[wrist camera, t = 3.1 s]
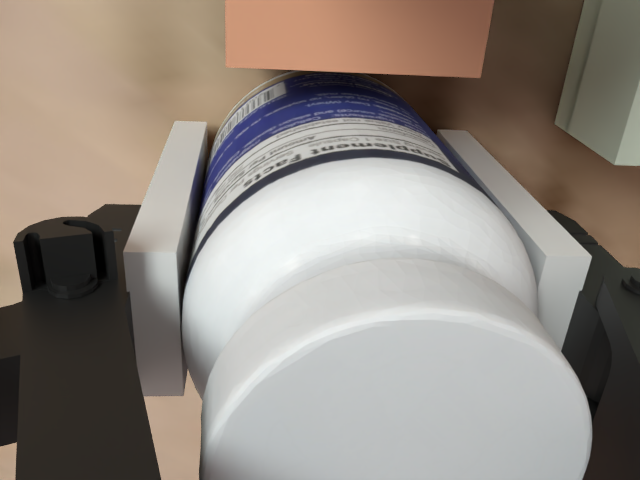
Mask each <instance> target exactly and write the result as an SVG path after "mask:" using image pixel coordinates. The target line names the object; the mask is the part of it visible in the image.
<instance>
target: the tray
mask: <svg viewBox="0 0 640 480" xmlns="http://www.w3.org/2000/svg"><path fill="white" fill-rule="evenodd" d="M554 124H555V125H557V126H558V127H560V128H561V129H563V130H564V131H565V132H567V133H568V134H570V135H571V136H573V137H574V138H576V139H577V140H579V141H580V142H581V143H583V144H584V145H586V146H587V147H589V148H590V149H592V150H593V151H595V152H596V153H597V154H599V155H600V156H602V157H603V158H605V159H606V160H608V161H609V162H611V163H612V164H613V165H629V166H640V0H584V4H583V8H582V13H581V17H580V21H579V25H578V29H577V33H576V37H575V41H574V45H573V50H572V54H571V58H570V62H569V66H568V70H567V74H566V78H565V82H564V87H563V91H562V95H561V99H560V103H559V107H558V111H557V115H556V119H555V123H554Z"/></svg>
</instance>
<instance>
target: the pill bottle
mask: <svg viewBox="0 0 640 480" xmlns="http://www.w3.org/2000/svg"><path fill="white" fill-rule="evenodd" d="M182 341H183V348H184V354H185V359H186V363H187V367H188V370H189V373H190V375H191V378H192V380H193V383H194V385H195V388H196V390H197V391H198V393H199V395H200V397H201V399H202V400H203V403H202V413H201V452H200V466H199V480H582V479H583V477H584V474H585V472H586V468H587V465H588V462H589V458H590V453H591V446H592V421H591V413H590V409H589V405H588V401H587V397H586V395H585V393H584V390H583V388H582V386H581V383H580V381H579V379H578V377H577V375H576V374H575V372H574V370H573V369H572V367H571V366H570V364H569V363H568V361H567V360H566V358H565V357H564V355H563V354H562V352H561V351H560V349H559V348H558V346H557V345H556V343H555V342H554V340H553V339H552V338H551V336H550V335H549V334H548V333H547V331H546V330H545V329H544V327H543V325H542V324H541V322H540V321H539V319H538V295H537V285H536V281H535V276H534V271H533V267H532V264H531V262H530V259H529V257H528V254H527V252H526V249H525V247H524V244H523V243H522V241H521V239H520V238H519V236H518V234H517V232H516V230H515V228H514V227H513V225H512V224H511V222H510V221H509V219H508V218H507V217H506V216H505V215H504V214H503V212H502V211H501V210H500V209H499V208H498V206H497V205H496V204H495V203H494V201H493V200H492V199H491V198H490V197H489V195H488V194H487V193H486V192H485V191H484V190H483V189H482V187H481V186H480V185H479V184H478V183H477V182H476V181H475V180H474V178H473V177H472V176H471V175H470V174H469V173H468V172H467V170H466V169H465V168H464V167H463V166H462V165H461V163H460V162H459V161H458V160H457V159H456V158H455V156H454V155H453V154H452V153H451V152H450V150H449V149H448V148H447V147H446V146H445V145H444V144H443V143H442V142H441V140H440V139H439V138H438V137H437V136H436V135H435V134H434V133H433V131H432V130H431V129H430V128H429V127H428V125H427V124H426V123H425V122H424V121H423V120H422V119H421V117H420V116H419V115H418V114H417V113H416V112H415V110H414V109H413V108H412V107H411V106H410V105H409V104H408V103H407V102H406V101H405V100H404V99H403V98H402V97H401V96H400V95H398V94H397V93H396V92H395V91H394V90H392V89H391V88H390V87H388V86H387V85H385V84H384V83H382V82H380V81H379V80H377V79H375V78H372V77H370V76H368V75H366V74H363V73H351V72H327V71H304V70H295V71H291V72H287V73H285V74H282V75H279V76H277V77H274V78H272V79H270V80H268V81H266V82H265V83H263V84H261V85H259V86H258V87H256V88H255V89H253V90H252V91H251V92H249V93H248V94H247V95H246V96H245V97H244V98H242V99H241V100H240V101H239V102H238V103H237V104H236V106H235V107H234V108H233V109H232V110H231V112H230V113H229V114H228V116H227V117H226V119H225V120H224V121H223V123H222V125H221V127H220V129H219V130H218V132H217V135H216V137H215V139H214V142H213V145H212V148H211V151H210V154H209V158H208V162H207V166H206V173H205V179H204V185H203V191H202V197H201V203H200V209H199V215H198V220H197V226H196V231H195V237H194V243H193V248H192V253H191V257H190V263H189V268H188V272H187V277H186V282H185V287H184V299H183V310H182Z"/></svg>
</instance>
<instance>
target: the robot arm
mask: <svg viewBox="0 0 640 480" xmlns="http://www.w3.org/2000/svg"><path fill="white" fill-rule="evenodd" d="M437 137H438V138H439V139H440V140H441V142H442V143H443V144H444V145H445V146H446V147H447V148H448V149H449V150H450V152H451V153H452V154H453V155H454V156H455V158H456V159H457V160H458V161H459V162H460V163H461V165H462V166H463V167H464V168H465V169H466V170H467V172H468V173H469V174H470V175H471V176H472V177H473V178H474V180H475V181H476V182H477V183H478V184H479V185H480V186H481V187H482V189H483V190H484V191H485V192H486V193H487V194H488V195H489V197H490V198H491V199H492V200H493V201H494V203H495V204H496V205H497V206H498V208H499V209H500V210H501V211H502V212H503V214H504V215H505V216H506V217H507V218H508V219H509V221H510V222H511V224H512V225H513V227H514V228H515V230H516V232H517V234H518V236H519V238H520V239H521V241H522V243H523V244H524V247H525V249H526V252H527V254H528V257H529V259H530V262H531V264H532V267H533V271H534V276H535V281H536V285H537V295H538V319H539V321H540V322H541V324H542V325H543V327H544V329H545V330H546V331H547V333H548V334H549V335H550V336H551V338H552V339H553V340H554V342H555V343H556V345H557V346H558V348H559V349H560V351H561V352H562V354H563V355H564V357H565V358H566V360H567V361H568V363H569V364H570V366H571V367H572V369H573V370H574V372H575V374H576V375H577V377H578V379H579V381H580V383H581V386H582V388H583V390H584V393H585V395H586V397H587V401H588V405H589V409H590V413H591V421H592V446H591V453H590V458H589V462H588V465H587V468H586V472H585V474H584V477H583V480H640V269H638V268H626V267H623V266H622V265H621V264H620V263H619V262H618V261H617V260H616V259H615V258H614V257H612V256H611V255H610V254H609V253H608V252H607V251H606V250H605V249H604V248H603V247H602V246H601V245H598V242H597V241H596V240H595V239H593V238H592V237H591V236H590V235H588V233H587V232H586V231H585V230H584V229H583V228H582V227H581V226H580V225H579V224H578V223H577V222H576V221H574V220H572V219H570V218H568V217H566V216H564V215H563V214H561V213H559V212H557V211H553V210H545V209H544V208H543V207H542V206H541V205H540V204H539V203H538V202H537V201H536V200H535V199H534V198H533V197H532V196H531V195H530V194H529V193H528V192H527V191H526V190H525V189H524V188H523V187H522V186H521V185H520V184H519V183H518V182H517V181H516V180H515V179H514V178H513V177H512V176H511V174H510V173H509V172H508V171H507V170H506V169H505V168H504V167H503V166H502V165H501V164H500V163H499V162H498V161H497V160H496V159H495V158H494V157H493V156H492V155H491V154H490V153H489V152H488V151H487V150H486V149H485V148H484V147H483V146H482V145H481V144H480V143H479V142H478V141H477V140H476V139H475V138H474V137H473V136H472V135H471V134H470V133H469V132H468V131H467V130H437ZM207 162H208V145H207V122H194V121H175V122H174V124H173V127H172V130H171V132H170V135H169V137H168V140H167V142H166V145H165V147H164V150H163V152H162V155H161V157H160V160H159V162H158V165H157V167H156V170H155V173H154V175H153V178H152V180H151V183H150V185H149V188H148V190H147V193H146V195H145V198H144V200H143V203H142V205H119V204H105V205H104V206H102V207H101V208H99V209H97V210H96V211H94V212H93V213H91V214H90V215H88V217H60V218H55V219H49V220H44V221H41V222H39V223H36V224H33V225H30V226H28V227H27V228H25V229H24V230H22V231H21V232H19V233H18V234H17V236H16V238H15V240H14V242H13V243H14V248H15V254H16V259H17V264H18V270H19V275H20V280H21V286H22V291H23V301H22V302H19V303H16V304H13V305H10V306H5V307H1V308H0V446H4V445H8V444H12V443H16V442H17V454H16V480H161V477H160V472H159V467H158V463H157V458H156V453H155V448H154V444H153V439H152V434H151V430H150V425H149V420H148V416H147V411H146V406H145V402H144V397H143V396H184V389H185V383H186V376H187V369H188V367H187V363H186V359H185V354H184V348H183V341H182V310H183V299H184V287H185V282H186V277H187V272H188V268H189V263H190V257H191V253H192V248H193V243H194V237H195V231H196V226H197V220H198V215H199V209H200V203H201V197H202V191H203V185H204V179H205V173H206V166H207Z"/></svg>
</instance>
